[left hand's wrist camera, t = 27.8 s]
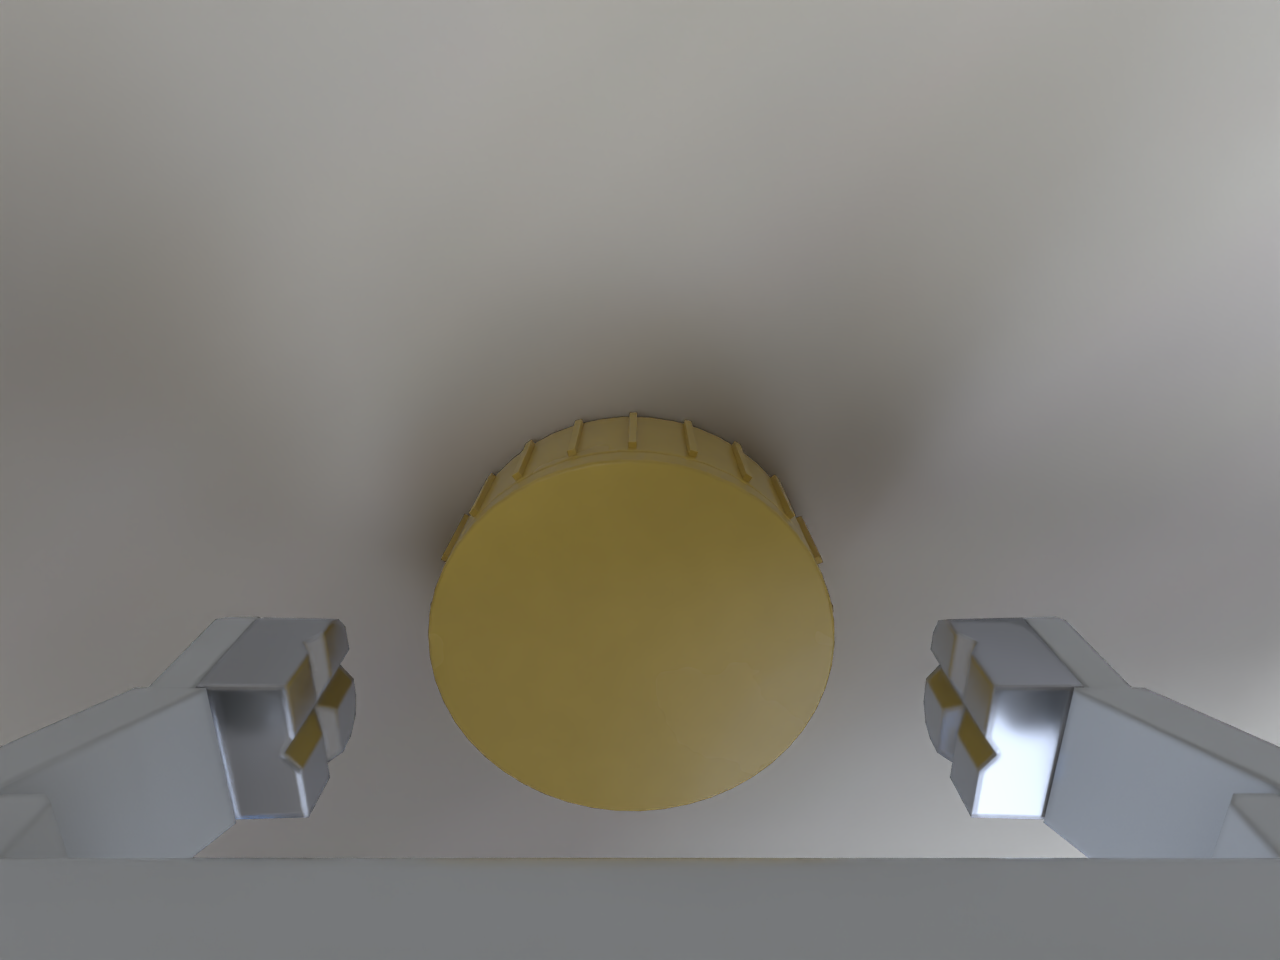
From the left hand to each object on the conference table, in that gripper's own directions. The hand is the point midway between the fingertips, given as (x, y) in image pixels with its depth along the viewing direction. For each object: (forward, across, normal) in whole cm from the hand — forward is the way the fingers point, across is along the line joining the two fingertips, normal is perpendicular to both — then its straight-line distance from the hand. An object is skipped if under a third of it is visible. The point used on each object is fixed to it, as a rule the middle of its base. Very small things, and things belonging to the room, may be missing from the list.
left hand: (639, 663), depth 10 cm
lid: (0, 0, 0) cm, 1 cm away
